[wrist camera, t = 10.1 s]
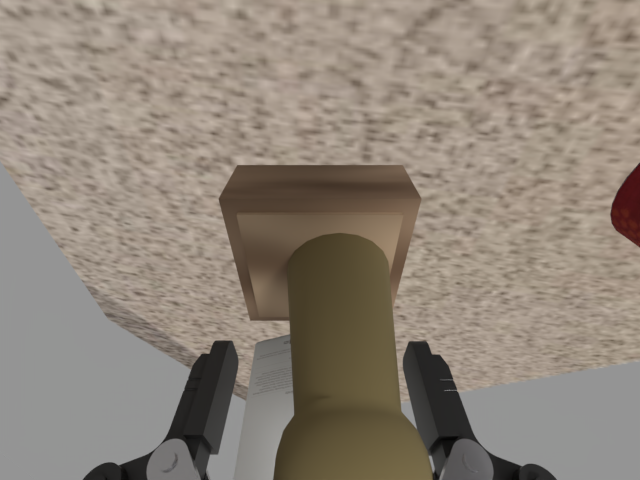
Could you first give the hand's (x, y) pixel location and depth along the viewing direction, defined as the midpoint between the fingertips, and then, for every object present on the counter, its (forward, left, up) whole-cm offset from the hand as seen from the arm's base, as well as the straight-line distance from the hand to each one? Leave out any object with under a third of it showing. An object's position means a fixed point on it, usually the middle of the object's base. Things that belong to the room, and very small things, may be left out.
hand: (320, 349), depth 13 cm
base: (0, 0, -9) cm, 9 cm away
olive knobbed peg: (0, +1, -5) cm, 5 cm away
